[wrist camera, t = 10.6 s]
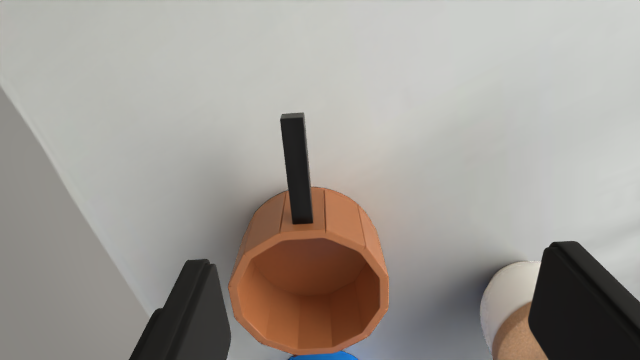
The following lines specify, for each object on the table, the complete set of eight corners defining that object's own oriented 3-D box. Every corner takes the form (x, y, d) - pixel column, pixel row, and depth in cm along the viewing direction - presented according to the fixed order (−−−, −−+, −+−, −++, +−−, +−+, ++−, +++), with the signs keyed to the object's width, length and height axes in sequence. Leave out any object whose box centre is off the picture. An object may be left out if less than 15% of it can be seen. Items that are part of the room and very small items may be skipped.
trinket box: (466, 334, 41) (505, 423, 32) (460, 251, 36) (504, 328, 28) (571, 318, 40) (641, 405, 31) (579, 231, 35) (662, 304, 27)
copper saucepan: (219, 102, 30) (193, 129, 24) (374, 90, 30) (389, 115, 24) (255, 299, 38) (243, 358, 32) (376, 292, 38) (388, 350, 32)
